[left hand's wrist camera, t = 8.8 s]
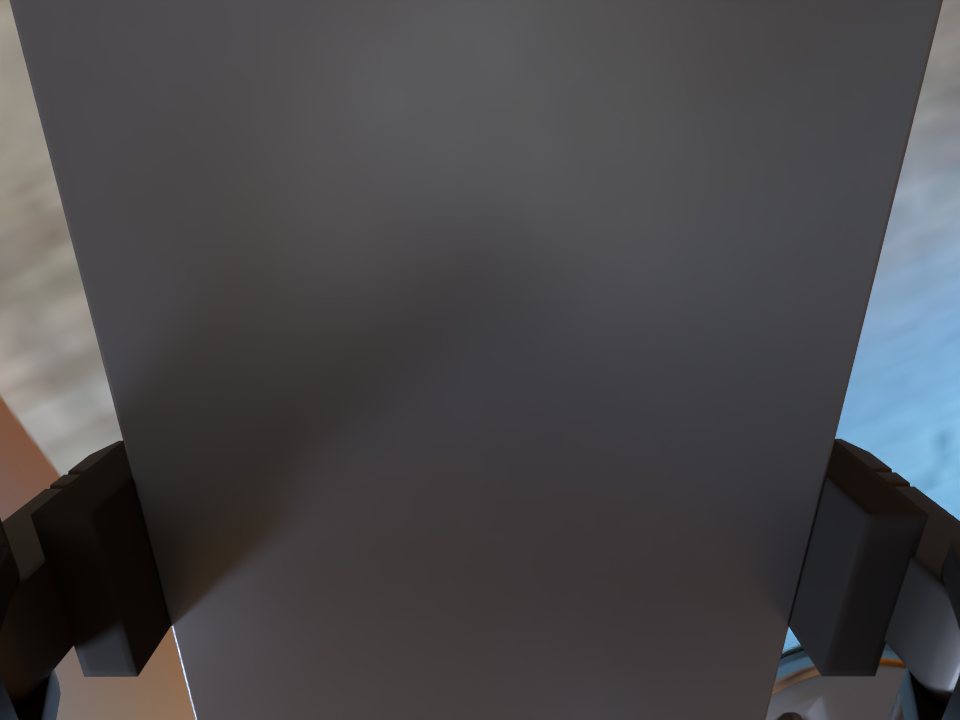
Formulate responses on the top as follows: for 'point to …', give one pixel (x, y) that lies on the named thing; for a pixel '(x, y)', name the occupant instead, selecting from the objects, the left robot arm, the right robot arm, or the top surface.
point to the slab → (478, 330)
